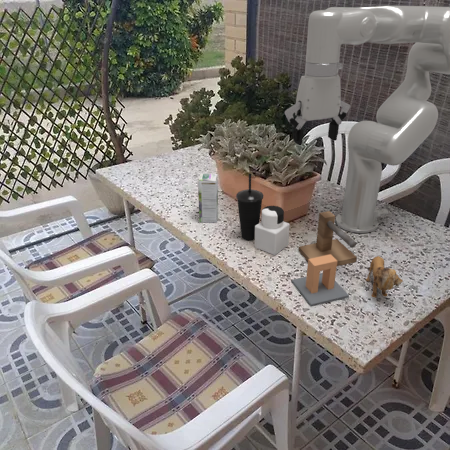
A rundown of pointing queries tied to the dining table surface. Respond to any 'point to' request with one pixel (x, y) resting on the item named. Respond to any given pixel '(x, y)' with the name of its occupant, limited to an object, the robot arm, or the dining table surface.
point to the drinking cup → (249, 211)
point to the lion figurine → (382, 277)
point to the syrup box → (208, 197)
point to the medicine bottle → (272, 230)
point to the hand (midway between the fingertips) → (315, 141)
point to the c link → (313, 272)
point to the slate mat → (319, 292)
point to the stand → (329, 242)
